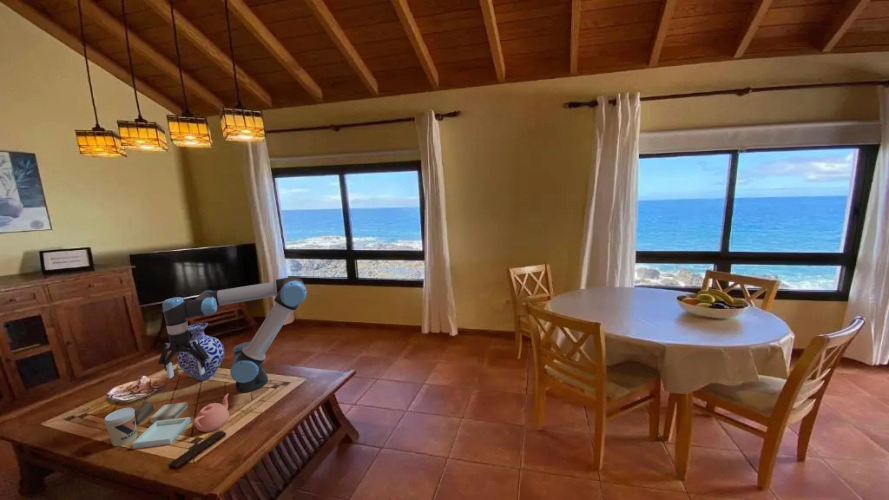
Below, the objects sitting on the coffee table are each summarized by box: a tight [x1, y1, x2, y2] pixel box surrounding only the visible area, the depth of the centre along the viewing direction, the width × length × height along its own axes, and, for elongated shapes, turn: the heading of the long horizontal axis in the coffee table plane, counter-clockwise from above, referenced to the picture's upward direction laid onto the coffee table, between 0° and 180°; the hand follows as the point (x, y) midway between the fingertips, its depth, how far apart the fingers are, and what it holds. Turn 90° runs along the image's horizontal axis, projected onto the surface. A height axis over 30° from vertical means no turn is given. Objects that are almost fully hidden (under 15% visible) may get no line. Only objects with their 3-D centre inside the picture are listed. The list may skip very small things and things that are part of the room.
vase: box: [177, 322, 225, 382], centre depth 192 cm, size 22×22×30 cm
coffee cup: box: [103, 407, 138, 447], centre depth 144 cm, size 9×9×12 cm
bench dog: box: [134, 401, 155, 426], centre depth 159 cm, size 3×10×5 cm, turn 7°
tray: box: [131, 416, 192, 450], centre depth 147 cm, size 14×14×2 cm
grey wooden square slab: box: [149, 401, 189, 424], centre depth 161 cm, size 10×10×3 cm
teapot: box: [192, 393, 230, 433], centre depth 153 cm, size 12×18×10 cm
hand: (187, 375), depth 159 cm, fingers open, 13 cm apart
